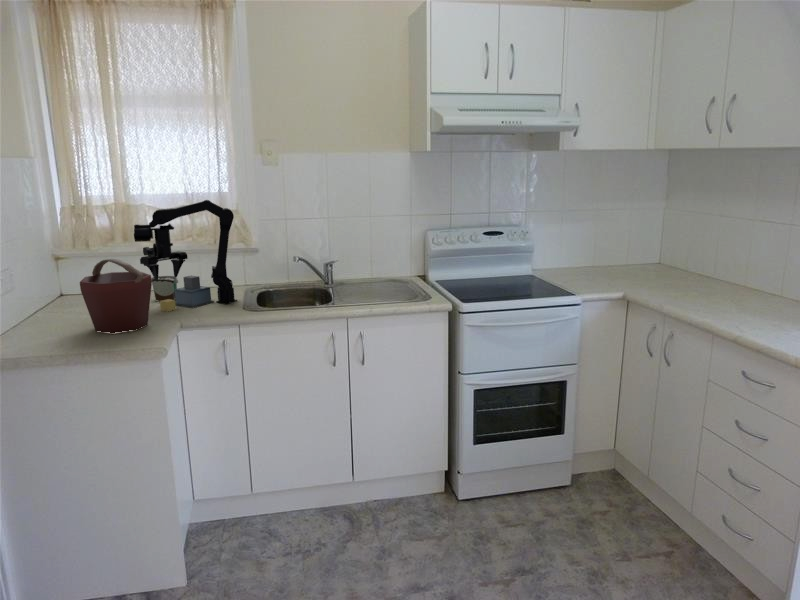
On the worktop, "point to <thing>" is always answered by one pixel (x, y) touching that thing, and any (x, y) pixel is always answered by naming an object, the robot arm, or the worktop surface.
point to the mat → (195, 305)
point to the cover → (192, 292)
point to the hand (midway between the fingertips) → (166, 278)
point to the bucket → (117, 298)
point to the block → (167, 305)
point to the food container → (165, 287)
